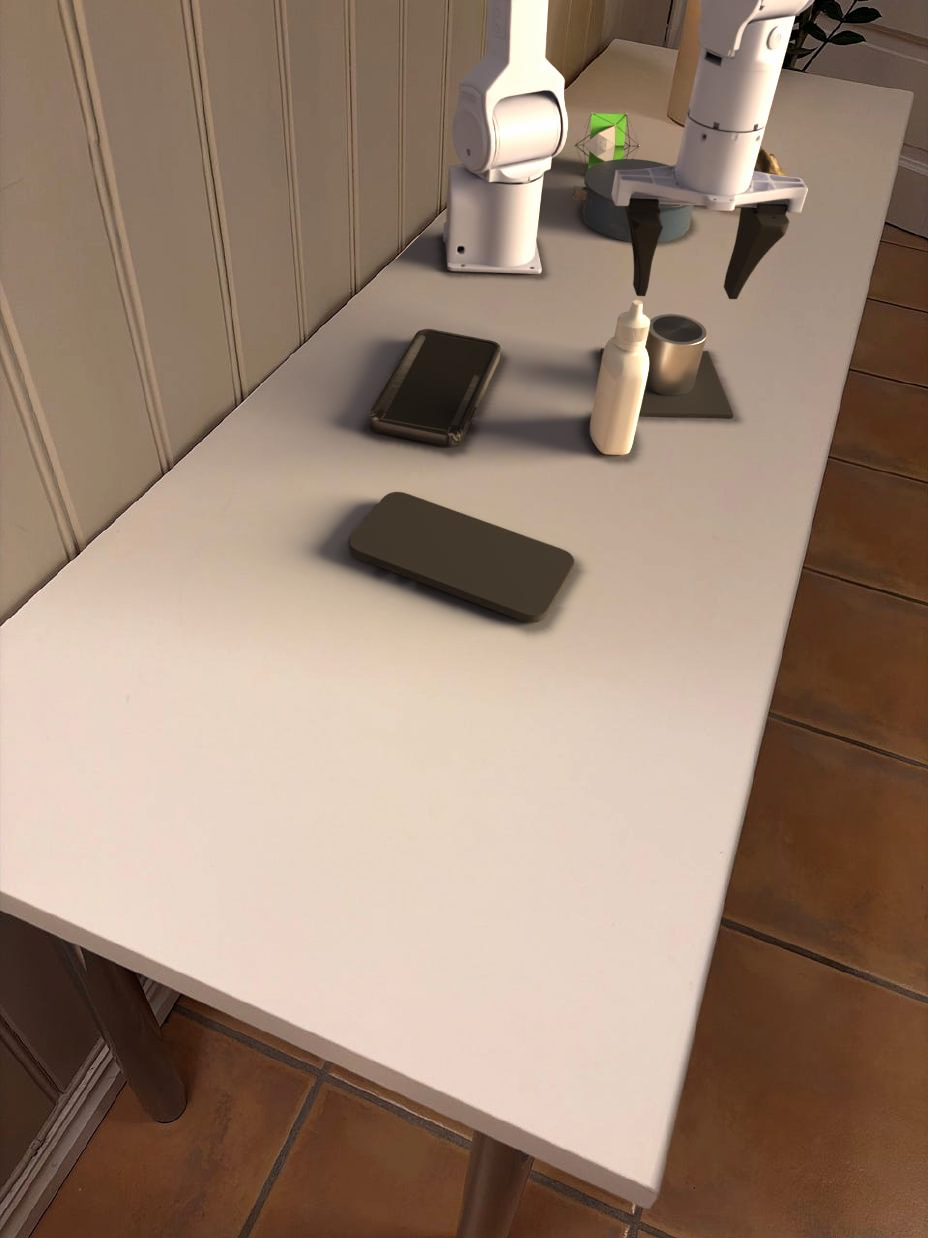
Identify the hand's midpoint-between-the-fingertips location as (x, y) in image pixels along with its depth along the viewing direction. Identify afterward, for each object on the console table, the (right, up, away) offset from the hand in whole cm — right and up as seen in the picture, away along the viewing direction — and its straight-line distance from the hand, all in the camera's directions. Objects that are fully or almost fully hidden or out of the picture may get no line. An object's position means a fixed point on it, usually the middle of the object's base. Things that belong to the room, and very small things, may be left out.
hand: (684, 291), depth 81 cm
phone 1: (-20, -8, +3) cm, 22 cm away
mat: (-1, -6, +6) cm, 9 cm away
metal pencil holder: (-1, -6, +5) cm, 8 cm away
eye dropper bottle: (-6, -12, 0) cm, 14 cm away
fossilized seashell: (+15, +22, +34) cm, 43 cm away
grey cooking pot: (+1, +18, +29) cm, 34 cm away
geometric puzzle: (-2, +26, +37) cm, 45 cm away
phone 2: (-19, -23, -11) cm, 31 cm away
